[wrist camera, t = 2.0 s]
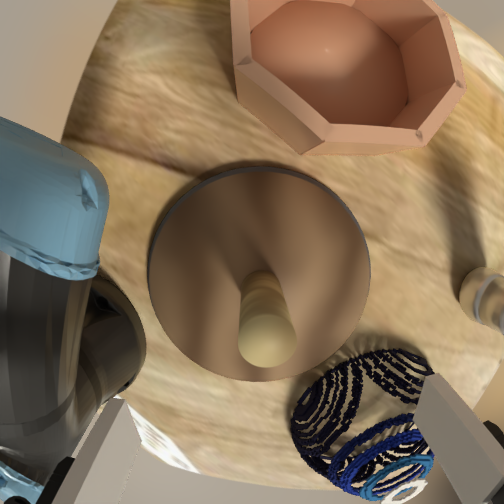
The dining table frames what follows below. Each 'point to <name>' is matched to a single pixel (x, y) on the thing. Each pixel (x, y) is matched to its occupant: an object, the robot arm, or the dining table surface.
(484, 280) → the plastic bottle
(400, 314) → the dining table surface
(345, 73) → the bowl
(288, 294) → the lid
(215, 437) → the dining table surface
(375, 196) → the dining table surface
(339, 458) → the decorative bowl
